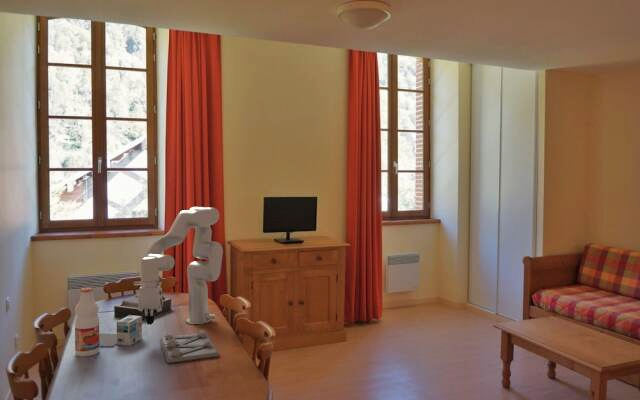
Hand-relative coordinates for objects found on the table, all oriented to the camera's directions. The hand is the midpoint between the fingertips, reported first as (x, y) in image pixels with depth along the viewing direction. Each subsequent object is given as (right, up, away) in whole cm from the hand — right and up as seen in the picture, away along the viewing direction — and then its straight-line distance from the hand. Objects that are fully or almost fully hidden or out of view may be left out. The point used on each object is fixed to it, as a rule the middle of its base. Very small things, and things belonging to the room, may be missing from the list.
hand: (150, 323), depth 221 cm
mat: (-21, -8, +2) cm, 22 cm away
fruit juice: (-22, -9, -14) cm, 28 cm away
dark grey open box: (-20, -7, +47) cm, 51 cm away
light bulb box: (-10, -9, +1) cm, 13 cm away
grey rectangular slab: (+20, -10, -8) cm, 23 cm away
